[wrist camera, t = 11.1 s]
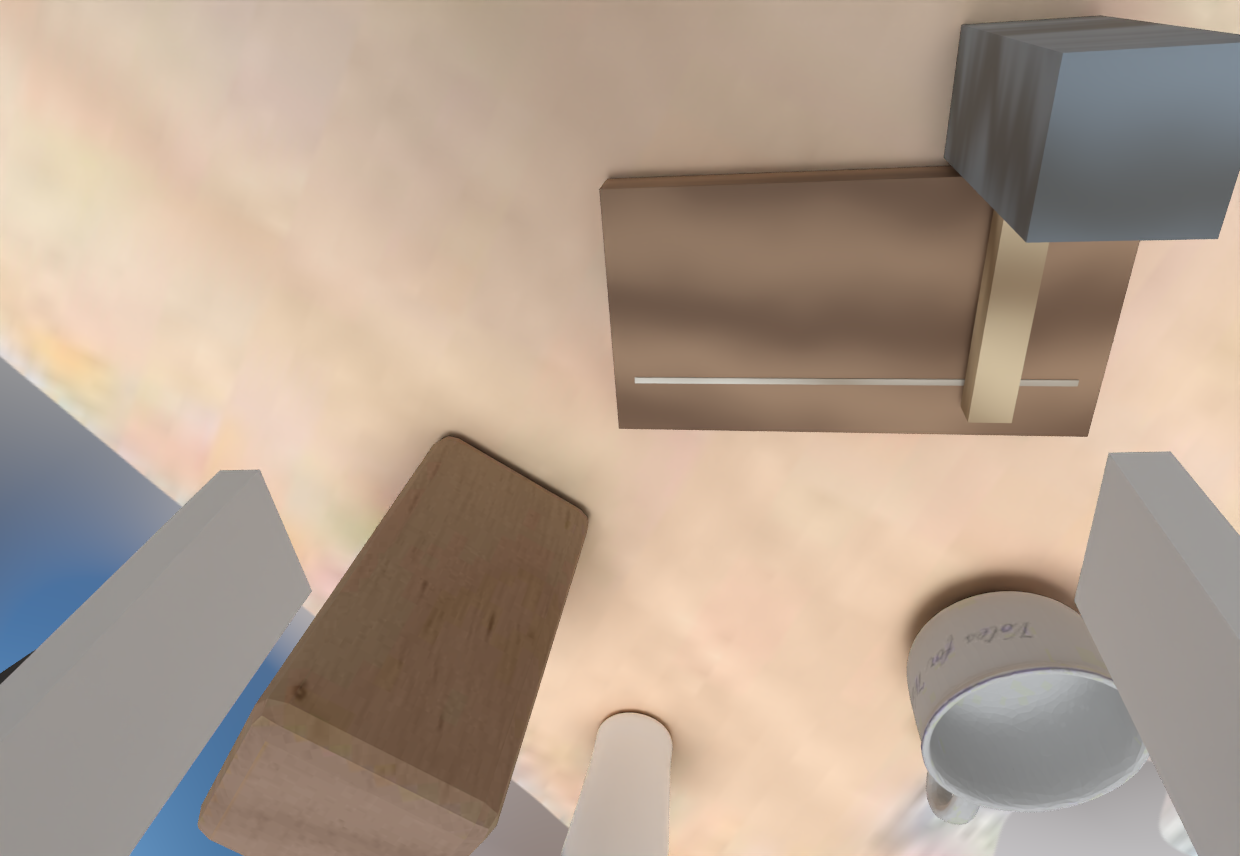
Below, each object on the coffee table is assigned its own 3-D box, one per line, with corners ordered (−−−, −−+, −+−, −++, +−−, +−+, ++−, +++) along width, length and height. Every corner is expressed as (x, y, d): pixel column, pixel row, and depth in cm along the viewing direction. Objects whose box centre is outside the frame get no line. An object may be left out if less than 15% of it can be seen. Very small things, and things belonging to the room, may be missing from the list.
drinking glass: (607, 769, 57) (563, 1000, 44) (574, 706, 54) (516, 934, 41) (696, 760, 55) (676, 1000, 42) (666, 695, 52) (636, 931, 39)
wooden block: (446, 423, 44) (247, 713, 27) (598, 511, 45) (500, 839, 28) (383, 534, 49) (180, 838, 32) (521, 610, 50) (398, 940, 33)
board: (607, 178, 35) (598, 190, 34) (1137, 159, 32) (1159, 170, 30) (624, 409, 41) (618, 429, 40) (1072, 415, 38) (1088, 437, 36)
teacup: (986, 531, 42) (1030, 640, 35) (1143, 622, 43) (1215, 744, 36) (828, 675, 49) (839, 789, 42) (967, 748, 50) (1000, 871, 44)
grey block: (961, 24, 30) (1062, 53, 20) (1101, 15, 30) (1280, 40, 19) (914, 380, 38) (970, 531, 28) (1023, 381, 37) (1123, 536, 27)
